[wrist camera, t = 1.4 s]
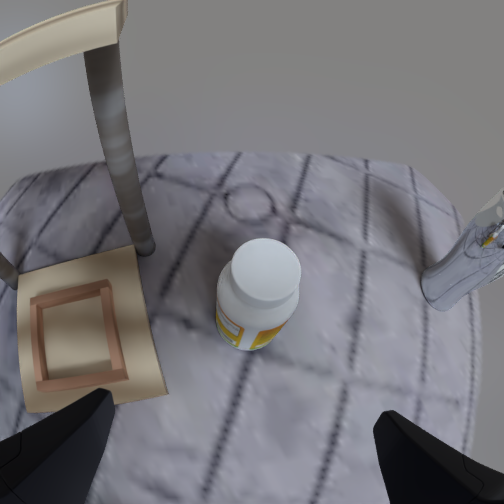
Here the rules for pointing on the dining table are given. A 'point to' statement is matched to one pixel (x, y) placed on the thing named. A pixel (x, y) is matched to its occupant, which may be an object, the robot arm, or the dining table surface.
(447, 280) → the beer glass
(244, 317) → the supplement bottle
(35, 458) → the robot arm
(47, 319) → the wood and grey frame
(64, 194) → the dining table surface
